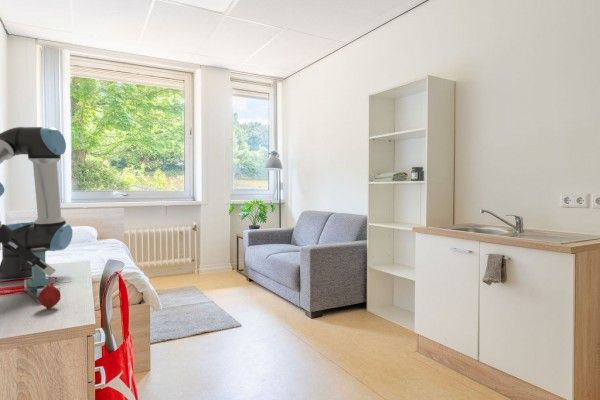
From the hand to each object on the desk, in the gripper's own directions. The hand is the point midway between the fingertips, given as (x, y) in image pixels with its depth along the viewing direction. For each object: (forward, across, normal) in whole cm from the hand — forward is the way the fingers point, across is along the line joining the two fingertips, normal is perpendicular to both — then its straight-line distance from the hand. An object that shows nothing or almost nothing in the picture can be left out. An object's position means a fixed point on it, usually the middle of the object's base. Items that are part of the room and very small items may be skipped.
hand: (48, 271), depth 137 cm
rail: (+3, +4, -7) cm, 9 cm away
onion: (+1, +25, -9) cm, 27 cm away
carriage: (+1, 0, -5) cm, 6 cm away
